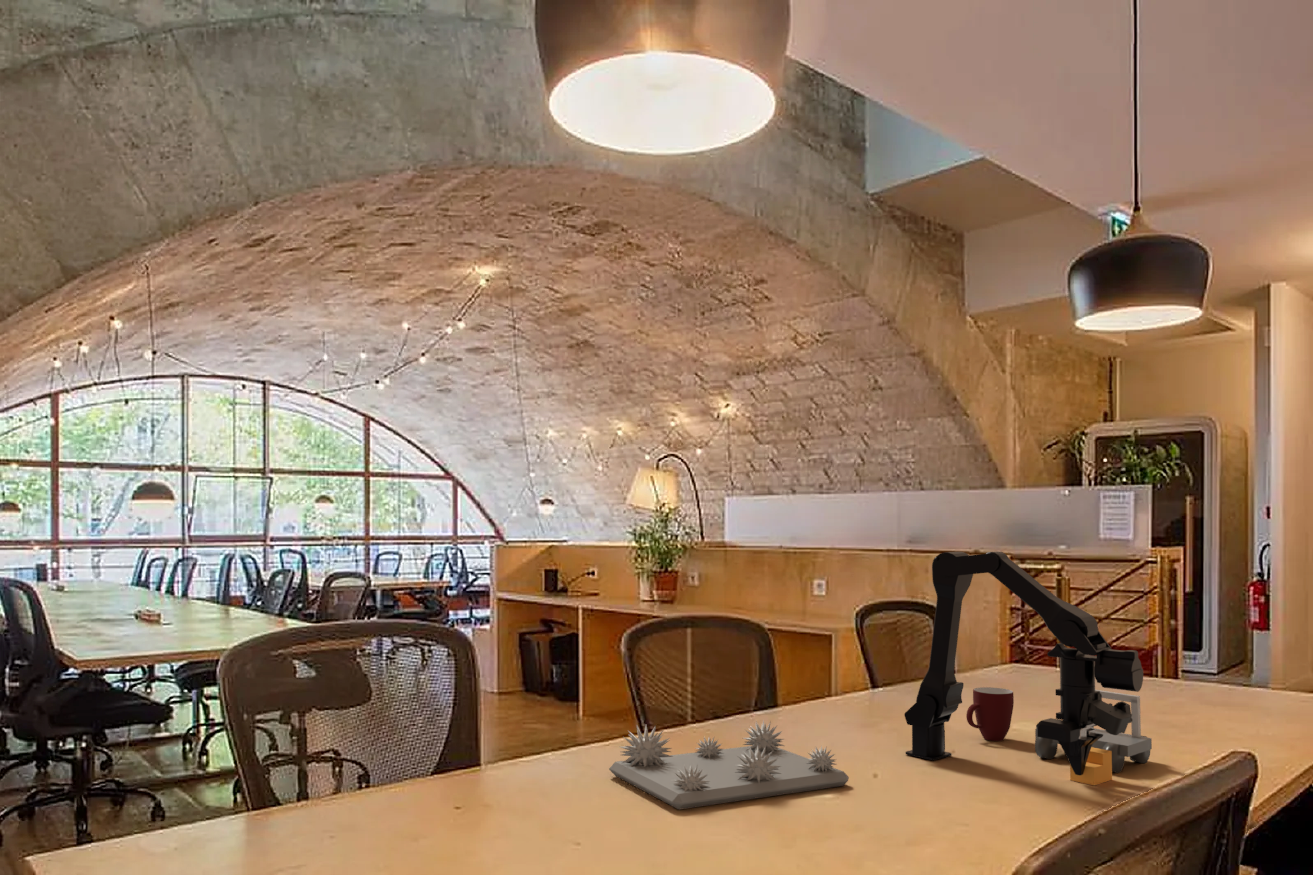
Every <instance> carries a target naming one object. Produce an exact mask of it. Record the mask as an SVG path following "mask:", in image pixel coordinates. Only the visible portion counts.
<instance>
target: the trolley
mask: <svg viewBox="0 0 1313 875" xmlns="http://www.w3.org/2000/svg"><path fill="white" fill-rule="evenodd" d="M1095 691H1100V693H1101V694H1102V699H1107V700H1114V701H1118V702H1121V701H1123V702H1125V703H1127V702H1128V703H1130V710H1131V714H1132V717H1131V718H1132V720H1133V721H1132V722H1131V726H1130V727H1131V734H1129V733H1119V734H1118V735H1112V734H1110V733H1108V732H1106V730H1104V729H1102V728H1094V729H1096V733H1098V734H1103V737H1102V738H1100V739H1098V740H1097V741H1096V742H1094V743H1093V744H1092V747H1094V748H1099V749H1104V750H1109V751H1112V773H1117V774H1118V773H1120V772H1122V771H1123V769H1124V766H1125V762H1126V761H1125V758H1129V759H1130V761H1131V762H1134V763H1140V764H1146V763H1147V762H1148V761H1149V759H1150V755H1151V750H1152V737H1148V736H1146V735H1142V734H1141V733H1142V732H1141V731H1142V730H1141V729H1142V728H1141V724H1142V723H1141V695H1134V694H1128V693H1121V692H1114V691H1108V690H1100V689H1095ZM1034 732H1035V737H1034V738H1035V740H1034V741H1035V742H1034V749H1035V753H1036V755H1037V757H1039V758H1042V759H1048V760H1051V759H1054V758H1055V757H1056V754H1057V752H1058V745H1060V743H1059V742H1058V741H1057V740H1052V739H1047V738H1042V737H1037V736H1036V728H1035V731H1034Z"/></svg>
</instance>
